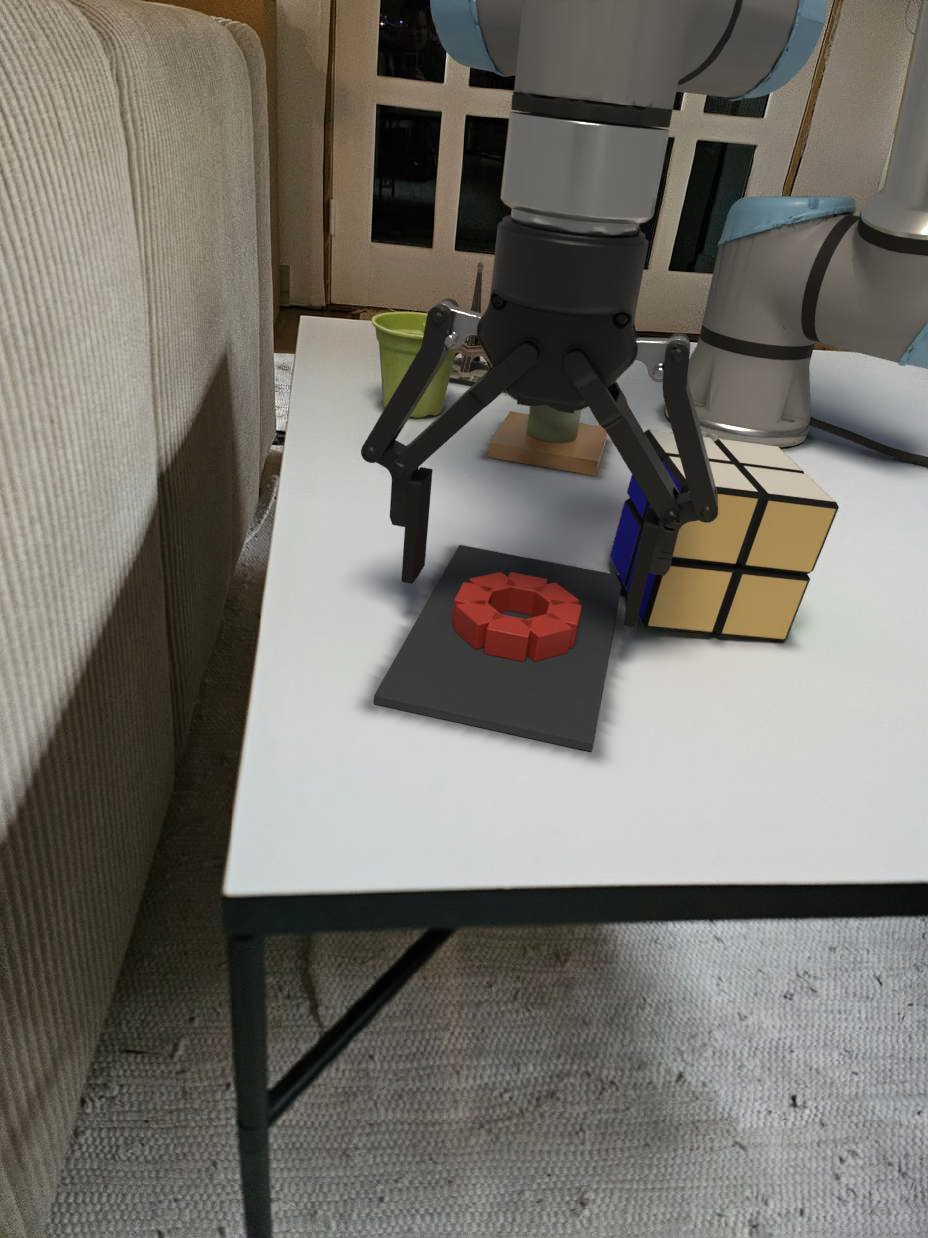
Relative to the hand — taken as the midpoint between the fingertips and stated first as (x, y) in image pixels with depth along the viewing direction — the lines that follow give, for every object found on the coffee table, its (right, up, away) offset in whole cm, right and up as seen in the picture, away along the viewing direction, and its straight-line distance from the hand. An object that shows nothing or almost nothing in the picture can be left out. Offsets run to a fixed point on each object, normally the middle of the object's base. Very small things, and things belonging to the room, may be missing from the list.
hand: (519, 595), depth 56 cm
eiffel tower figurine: (-3, +27, +51) cm, 58 cm away
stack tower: (+5, +15, +32) cm, 35 cm away
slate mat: (0, -2, +2) cm, 3 cm away
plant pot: (-9, +20, +38) cm, 44 cm away
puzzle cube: (+12, 0, +7) cm, 14 cm away
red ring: (0, -2, +1) cm, 2 cm away
